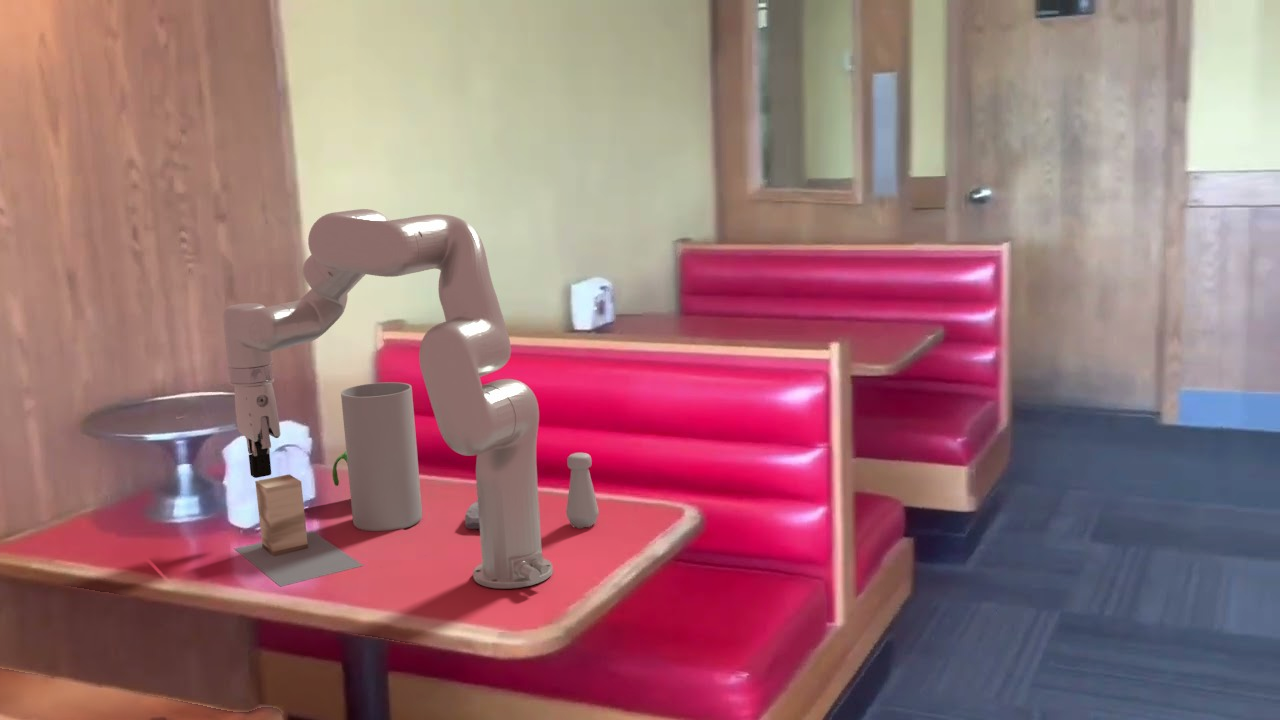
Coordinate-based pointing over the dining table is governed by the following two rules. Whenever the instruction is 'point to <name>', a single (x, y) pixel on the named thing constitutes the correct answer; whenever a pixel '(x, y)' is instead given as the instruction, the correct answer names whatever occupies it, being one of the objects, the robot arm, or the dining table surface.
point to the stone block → (472, 517)
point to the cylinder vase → (382, 456)
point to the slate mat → (300, 561)
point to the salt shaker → (581, 492)
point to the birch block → (281, 514)
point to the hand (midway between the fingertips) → (261, 475)
